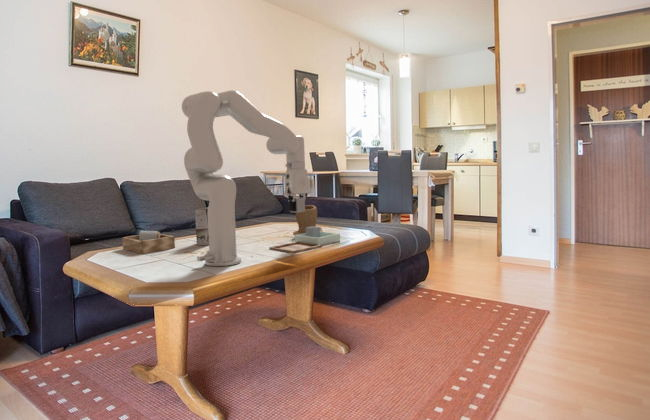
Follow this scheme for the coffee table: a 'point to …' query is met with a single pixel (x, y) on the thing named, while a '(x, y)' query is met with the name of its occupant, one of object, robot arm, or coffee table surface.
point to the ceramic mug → (149, 235)
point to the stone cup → (306, 219)
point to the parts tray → (295, 247)
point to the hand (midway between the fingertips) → (297, 209)
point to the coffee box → (202, 226)
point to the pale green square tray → (322, 240)
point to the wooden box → (148, 244)
